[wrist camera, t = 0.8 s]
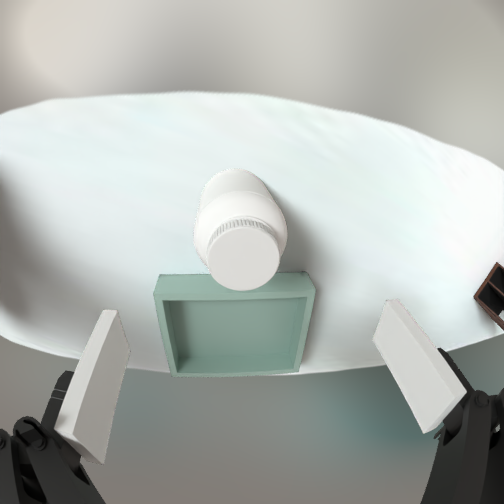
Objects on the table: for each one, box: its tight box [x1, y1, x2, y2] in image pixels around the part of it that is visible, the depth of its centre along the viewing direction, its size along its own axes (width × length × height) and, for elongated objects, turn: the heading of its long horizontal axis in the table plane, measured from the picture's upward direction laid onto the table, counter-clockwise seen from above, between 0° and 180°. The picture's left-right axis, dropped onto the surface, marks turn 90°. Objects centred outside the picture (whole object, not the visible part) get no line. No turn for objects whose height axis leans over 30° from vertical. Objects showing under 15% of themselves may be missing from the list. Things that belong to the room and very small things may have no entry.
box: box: [153, 272, 316, 377], centre depth 39 cm, size 20×16×4 cm
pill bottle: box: [193, 169, 288, 291], centre depth 26 cm, size 8×8×15 cm
